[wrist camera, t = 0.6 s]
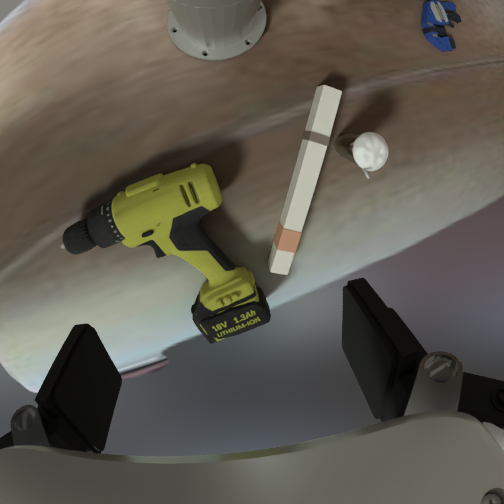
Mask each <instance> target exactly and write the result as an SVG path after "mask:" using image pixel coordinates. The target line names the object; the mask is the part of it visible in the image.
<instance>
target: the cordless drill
mask: <svg viewBox="0 0 504 504" xmlns="http://www.w3.org/2000/svg"><path fill="white" fill-rule="evenodd" d="M222 200H223V198H222V195H221V191H220V188H219V185H218V183H217V180H216V177H215V175H214V172H213V170H212V168H211V166H209V165H206V164H199V165H197V164H196V163H192V164H191V167H188V168H185V169H182V170H178V171H175V172H172V173H169V174H166V175H163V174H162V173H160V174H157V175H154V176H152V177H149V178H147V179H144V180H142V181H139V182H137V183H134V184H132V185H129V186H127V187H126V190H125V192H124V191H121V192H119V193H118V194H117V196H115V197H114V198H113V200H111V201H109V202H107V203H105V204H103V205H101V206H98V207H96V208H95V209H93V210H91V211H90V212H89V213H88V216H87V219H84V220H81V221H78V222H76V223H75V224H73V225H71V226H70V227H68V228H67V229H66V230H65V232H64V234H63V243H62V244H61V248H66V250H67V251H68V252H70V253H72V254H75V255H76V254H80V253H83V252H85V251H88V250H90V249H92V248H93V247H95V246H96V245H98V246H99V247H101V248H106V247H109V246H111V245H113V244H116V243H118V242H120V241H122V243H123V244H124V245H126V246H127V247H130V248H132V247H135V246H141V245H150V246H152V247H153V249H154V251H155V254H156V257H157V258H160V257H163V256H165V255H172V254H173V255H177V256H179V257H181V258H182V259H184V260H185V261H187V262H188V263H190V264H191V265H193V266H194V267H195V268H197V269H198V270H200V271H201V272H202V273H203V274H204V275H205V276H206V277H207V279H208V281H206V282H205V283H204V284H203V286H202V287H201V289H200V291H199V294H198V295H197V298H196V301H195V304H194V305H192V308H191V312H192V314H193V321H194V323H195V324H196V326H197V327H198V329H199V330H200V332H201V333H202V334H203V335H204V337H205V338H206V339H207V340H208V341H209V343H211V344H212V343H214V342H217V341H219V340H222V339H224V338H227V337H230V336H234V335H237V334H241V333H243V332H246V331H248V330H251V329H253V328H256V327H258V326H261V325H263V324H266V323H268V322H269V321H270V317H271V315H270V309H269V305H268V303H267V301H266V298H265V296H264V294H263V292H262V290H261V288H259V287H257V286H255V280H254V276H253V273H252V272H251V271H247V269H246V268H245V267H235V266H234V264H233V263H232V262H231V261H230V260H229V259H228V257H227V256H226V255H225V254H224V253H223V252H222V251H221V250H220V249H219V247H218V246H217V245H216V244H215V243H214V242H213V241H212V240H211V239H210V238H209V237H208V235H207V234H206V232H205V231H204V230H203V228H202V226H201V223H200V221H201V218H202V217H203V216H204V215H205V214H207V213H208V212H210V211H212V210H213V209H215V208H217V207H219V206H220V204H221V202H222Z"/></svg>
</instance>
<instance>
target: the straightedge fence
mask: <svg viewBox="0 0 504 504" xmlns="http://www.w3.org/2000/svg"><path fill="white" fill-rule="evenodd" d="M341 94H342V91H340V90H337V89H335V88H332V87H329V86H326V85H321V86H319V87H317V89H316V92H315V96H314V100H313V103H312V107H311V111H310V115H309V118H308V122H307V126H306V129H305V131H304V135H303V140H302V144H301V147H300V151H299V155H298V158H297V162H296V165H295V169H294V172H293V176H292V179H291V183H290V187H289V190H288V194H287V197H286V201H285V204H284V207H283V211H282V214H281V218H280V221H279V224H278V227H277V230H276V234H275V237H274V242H273V245H272V249H271V252H270V256H269V259H268V262H267V263H268V266H269V270H270V272H272V273H278V274H283V275H288V272H289V269H290V266H291V263H292V259H293V256H294V253H295V252H296V249H297V246H298V243H299V240H300V237H301V234H302V233H301V232H302V228H303V225H304V222H305V219H306V216H307V212H308V209H309V206H310V203H311V199H312V196H313V193H314V190H315V186H316V183H317V180H318V176H319V173H320V169H321V166H322V163H323V159H324V156H325V152H326V149H327V146H328V144H329V140H330V134H331V131H332V127H333V124H334V120H335V116H336V113H337V109H338V105H339V101H340V98H341Z"/></svg>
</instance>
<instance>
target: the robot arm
mask: <svg viewBox="0 0 504 504" xmlns="http://www.w3.org/2000/svg"><path fill="white" fill-rule="evenodd" d="M167 2H168V4H169V6H170V11H169V14H168V18H167V27H168V31H169V35H170V37H171V39H172V40H173V42H174V43H175V45H176V46H177V47H178V48H179V49H180V50H181V51H183V52H184V53H186V54H187V55H189V56H192V57H194V58H197V59H201V60H205V61H222V60H228V59H231V58H235V57H237V56H239V55H242V54H244V53H245V52H247V51H248V50H250V49H251V48H252V47H253V46H254V45H255V44H256V43H257V42H258V40H259V39H260V38H261V36H262V34H263V32H264V29H265V26H266V17H267V16H266V10H265V7H264V5H263V3H262V1H261V0H167ZM258 9H260V10H258ZM175 30H177V32H175V33H174V31H175ZM246 42H249V43H250V44H249V45H246ZM205 53H207V54H208V55H207V56H204V54H205ZM342 347H343V350H344V353H345V355H346V357H347V359H348V361H349V363H350V366H351V368H352V370H353V372H354V374H355V376H356V378H357V381H358V383H359V385H360V387H361V389H362V391H363V394H364V396H365V398H366V400H367V402H368V405H369V407H370V409H371V411H372V414H373V415H374V417H375V418H376V419H378V418H380V420H381V423H377V424H373V425H369V426H366V427H362V428H359V429H355V430H352V431H348V432H344V433H341V434H337V435H333V436H328V437H324V438H320V439H316V440H311V441H306V442H302V443H297V444H291V445H286V446H280V447H275V448H269V449H262V450H255V451H247V452H238V453H229V454H218V455H203V456H183V457H182V456H179V457H149V456H124V455H110V454H101V451H103V450H104V448H105V444H106V440H107V436H108V432H109V427H110V424H111V420H112V416H113V412H114V408H115V405H116V401H117V398H118V394H119V391H120V387H121V383H122V379H121V375H120V374H119V372H118V370H117V368H116V367H115V365H114V363H113V362H112V360H111V358H110V356H109V355H108V353H107V351H106V349H105V347H104V345H103V344H102V342H101V340H100V338H99V336H98V334H97V332H96V330H95V329H94V328H93V327H91V326H90V325H89V324H79V325H75V326H74V327H73V328H72V330H71V332H70V334H69V335H68V337H67V339H66V341H65V342H64V344H63V346H62V348H61V350H60V351H59V353H58V355H57V357H56V359H55V361H54V362H53V364H52V366H51V368H50V370H49V372H48V374H47V376H46V378H45V380H44V382H43V384H42V386H41V388H40V390H39V392H38V394H37V396H36V398H35V401H36V402H37V404H38V408H36V407H35V406H34V405H30V404H29V405H24V406H22V407H20V408H19V409H17V410H16V412H15V413H14V414H13V416H12V418H11V421H10V427H11V431H10V432H9V433H7V434H6V435H4V436H3V437H1V438H0V504H504V381H501V380H496V379H491V378H487V377H483V376H478V375H474V374H470V373H466V372H463V366H462V363H461V361H460V360H459V359H458V358H457V357H456V356H454V355H453V354H451V353H448V352H442V351H437V352H431V353H430V354H427V353H426V351H425V350H424V348H423V347H422V346H421V344H420V343H419V342H418V340H417V339H416V338H415V336H414V335H413V334H412V332H411V331H410V330H409V328H408V327H407V326H406V324H405V323H404V322H403V321H402V319H401V318H400V317H399V315H398V314H397V313H396V312H395V310H393V309H392V308H388V307H387V306H386V305H385V303H384V302H383V301H382V300H381V298H380V297H379V296H378V295H377V293H376V292H375V291H374V290H373V288H372V287H371V286H370V285H369V283H368V282H367V281H366V280H365V279H364V278H360V279H355V280H351V281H348V284H347V286H344V287H343V324H342Z"/></svg>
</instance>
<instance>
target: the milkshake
mask: <svg viewBox="0 0 504 504" xmlns="http://www.w3.org/2000/svg"><path fill="white" fill-rule="evenodd" d="M335 149H336V151H337V152H338V153H339V154H340V155H341V156H342V157H344V158H346V159H348V160H349V161H351V162H353V163H355V164H356V165H358V166H359V167H361V168H362V169H363V171H364V173H365V175H366V177H367V178H368V179H370V178H369V176H368V174H367V172H366V170H367V171H375V170H377V169H379V168H381V167H382V166H383V165H384V163H385V162H386V160H387V157H388V146H387V144H386V142H385V140H384V139H383V138H382V137H381V136H380V135H378V134H376V133H373V132H365V133H348V134H342V135H340V136H338V137H337V139H336V141H335Z"/></svg>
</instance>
